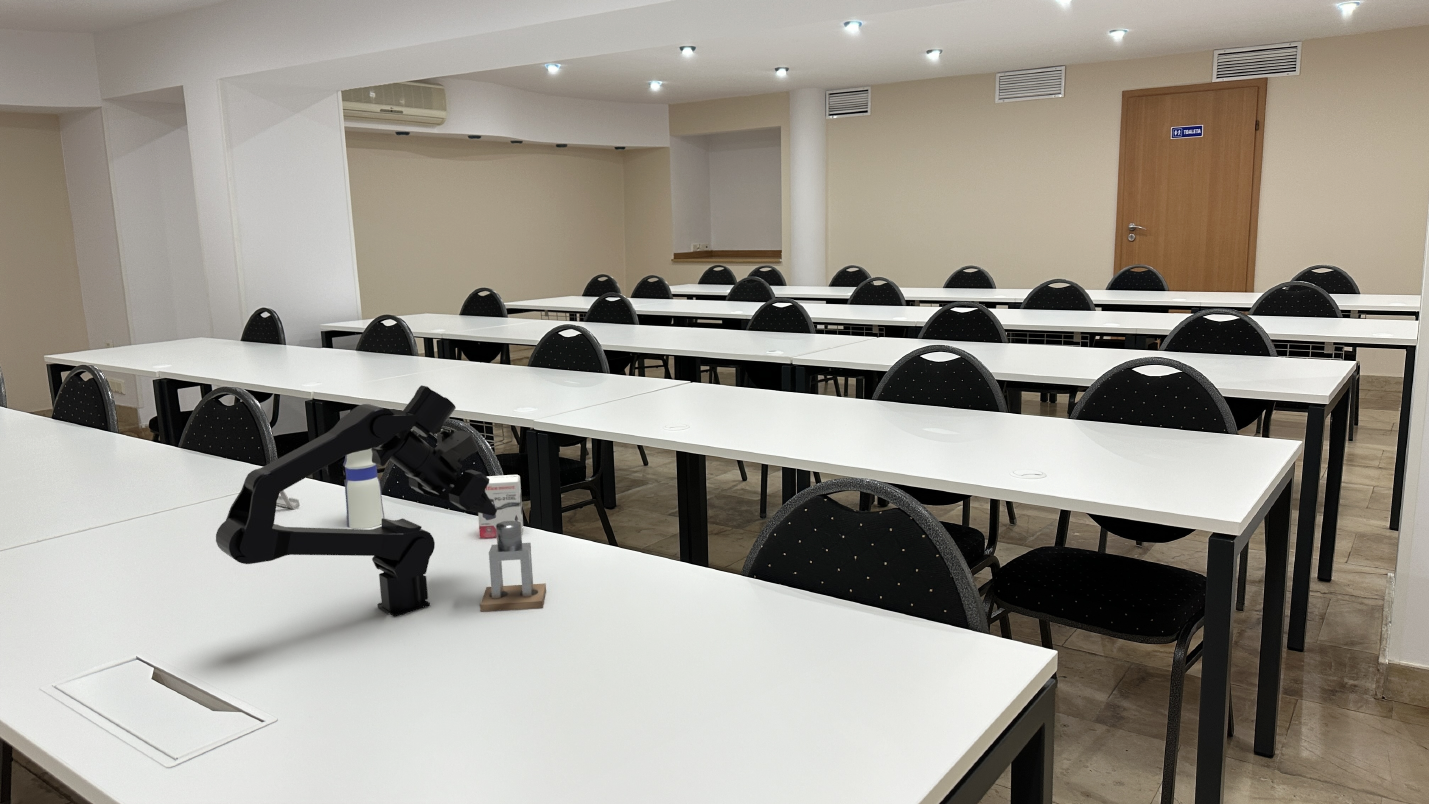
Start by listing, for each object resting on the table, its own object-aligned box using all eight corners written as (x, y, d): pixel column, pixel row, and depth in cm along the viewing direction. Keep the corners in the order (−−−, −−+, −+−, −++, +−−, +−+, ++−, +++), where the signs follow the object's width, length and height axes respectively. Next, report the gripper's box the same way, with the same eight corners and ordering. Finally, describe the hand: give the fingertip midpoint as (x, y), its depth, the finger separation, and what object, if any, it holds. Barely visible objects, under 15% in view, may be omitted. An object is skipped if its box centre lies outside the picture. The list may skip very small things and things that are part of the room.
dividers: (492, 598, 159) (487, 529, 157) (495, 589, 163) (490, 521, 161) (531, 596, 159) (526, 526, 157) (533, 587, 163) (529, 519, 161)
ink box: (479, 539, 194) (475, 482, 192) (481, 531, 199) (477, 476, 197) (522, 536, 195) (518, 480, 193) (523, 529, 200) (520, 474, 198)
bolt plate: (480, 611, 157) (479, 604, 157) (487, 593, 165) (486, 586, 164) (542, 607, 158) (542, 600, 158) (546, 589, 166) (545, 582, 165)
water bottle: (342, 520, 209) (331, 407, 204) (383, 515, 212) (373, 403, 208) (345, 531, 201) (333, 414, 197) (388, 525, 205) (377, 409, 200)
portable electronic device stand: (300, 508, 220) (296, 472, 218) (268, 517, 213) (264, 480, 212) (277, 503, 224) (273, 468, 223) (245, 512, 218) (241, 476, 216)
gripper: (474, 425, 154) (536, 479, 164) (419, 411, 168) (480, 461, 177) (433, 483, 150) (499, 534, 160) (380, 464, 164) (444, 512, 173)
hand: (481, 508), depth 168 cm, fingers open, 9 cm apart
